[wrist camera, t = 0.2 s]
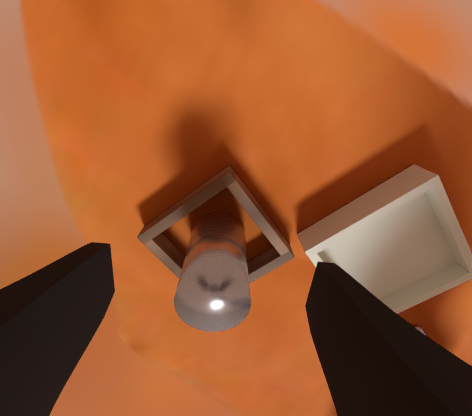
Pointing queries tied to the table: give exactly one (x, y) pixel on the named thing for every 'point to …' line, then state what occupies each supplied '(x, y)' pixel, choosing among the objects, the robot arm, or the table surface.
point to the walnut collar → (225, 178)
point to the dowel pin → (214, 275)
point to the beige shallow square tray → (396, 240)
